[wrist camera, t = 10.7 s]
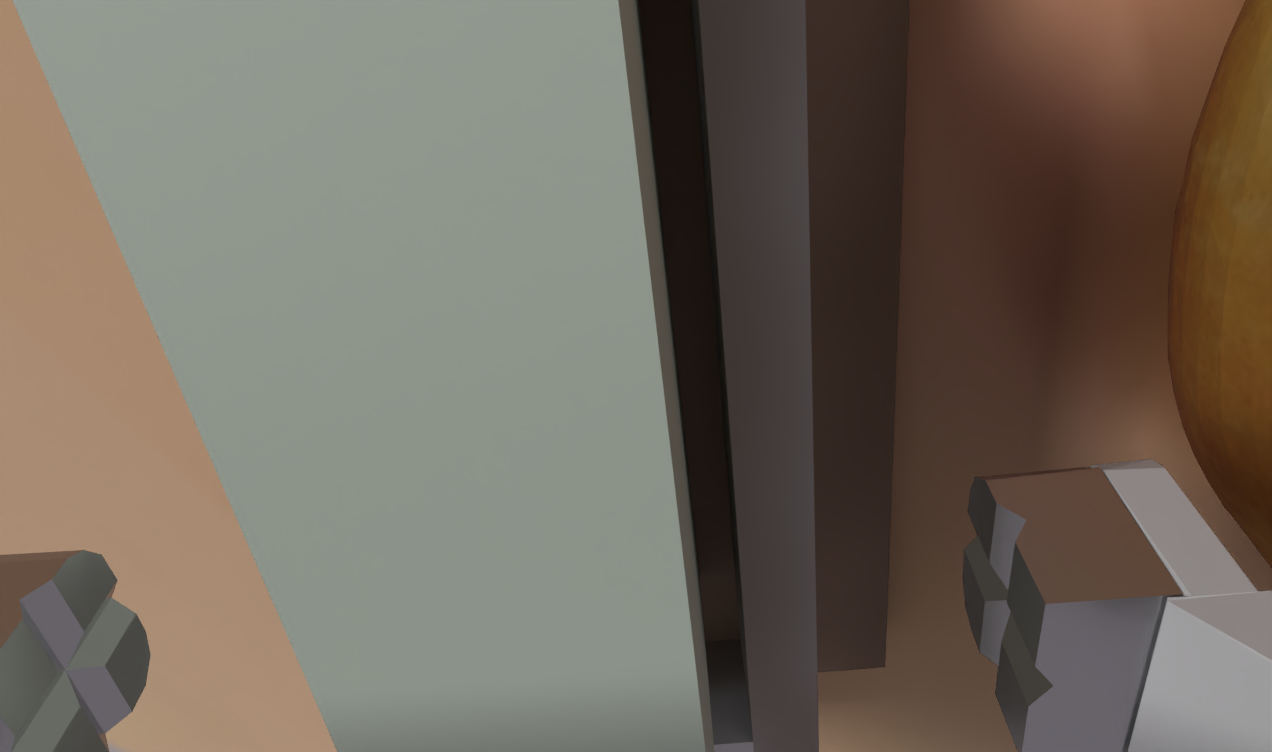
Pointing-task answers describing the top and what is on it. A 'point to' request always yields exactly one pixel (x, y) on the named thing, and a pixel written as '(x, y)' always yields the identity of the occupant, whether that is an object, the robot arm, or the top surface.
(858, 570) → the grey rectangular tray
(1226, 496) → the bread
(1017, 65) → the top surface
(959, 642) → the top surface
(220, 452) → the pale green rectangular block
